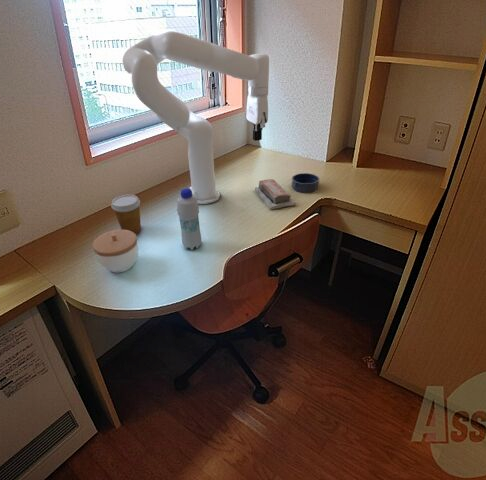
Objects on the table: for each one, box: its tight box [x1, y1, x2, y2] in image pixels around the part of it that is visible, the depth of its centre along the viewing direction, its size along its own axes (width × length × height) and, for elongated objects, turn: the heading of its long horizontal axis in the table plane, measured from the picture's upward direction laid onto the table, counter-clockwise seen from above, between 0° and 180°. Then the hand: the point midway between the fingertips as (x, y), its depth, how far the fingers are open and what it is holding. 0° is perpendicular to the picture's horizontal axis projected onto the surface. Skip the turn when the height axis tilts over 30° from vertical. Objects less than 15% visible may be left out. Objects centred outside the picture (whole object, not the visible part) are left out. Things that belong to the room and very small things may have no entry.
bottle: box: [176, 188, 203, 251], centre depth 110 cm, size 7×7×20 cm
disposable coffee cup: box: [110, 194, 142, 235], centre depth 122 cm, size 10×10×12 cm
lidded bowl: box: [92, 229, 139, 274], centre depth 106 cm, size 13×13×11 cm
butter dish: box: [254, 178, 296, 211], centre depth 140 cm, size 18×5×10 cm
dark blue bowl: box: [291, 172, 320, 194], centre depth 147 cm, size 11×11×4 cm
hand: (257, 139), depth 144 cm, fingers closed
